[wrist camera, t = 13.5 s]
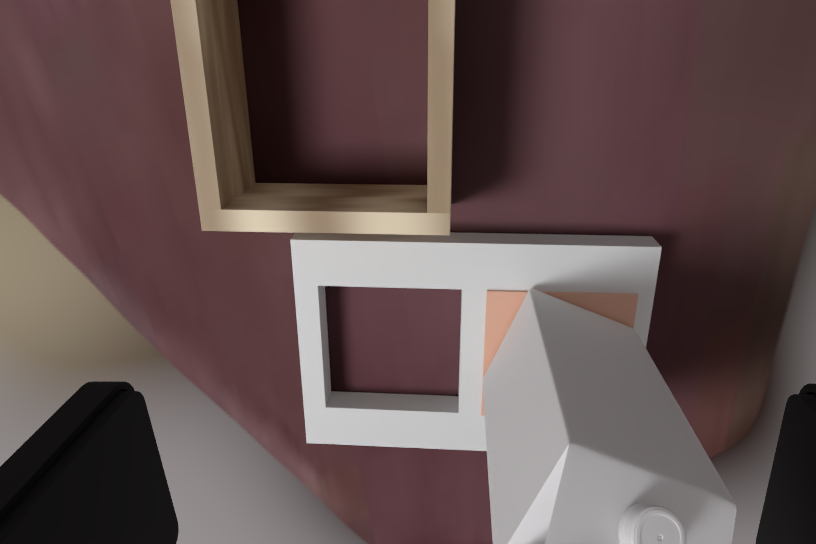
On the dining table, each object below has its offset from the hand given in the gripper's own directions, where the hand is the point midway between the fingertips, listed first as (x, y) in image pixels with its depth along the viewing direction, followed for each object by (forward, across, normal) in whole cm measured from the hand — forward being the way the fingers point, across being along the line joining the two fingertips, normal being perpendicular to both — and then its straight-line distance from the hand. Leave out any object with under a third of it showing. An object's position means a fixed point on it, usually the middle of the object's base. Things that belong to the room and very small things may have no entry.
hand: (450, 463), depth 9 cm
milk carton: (+27, -5, +14) cm, 31 cm away
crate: (+29, +7, -2) cm, 30 cm away
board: (+29, 0, +14) cm, 32 cm away
